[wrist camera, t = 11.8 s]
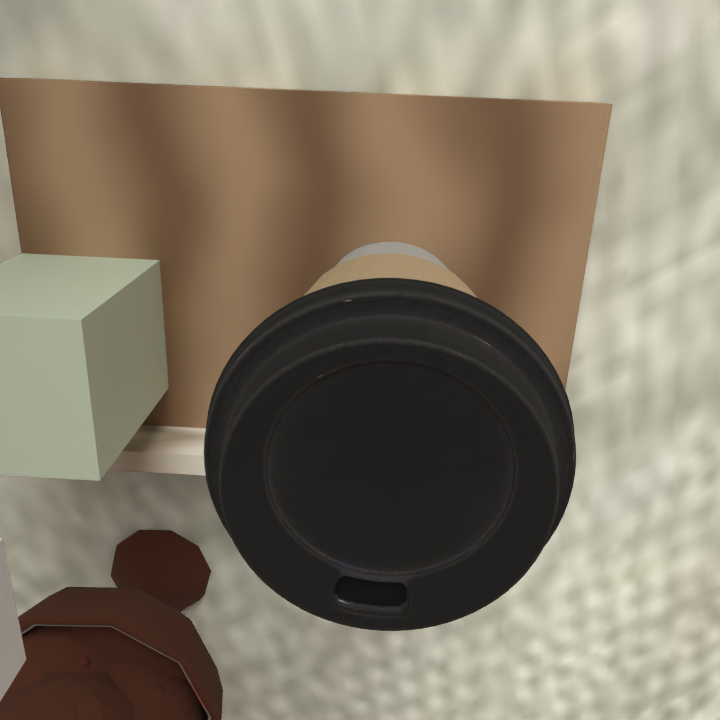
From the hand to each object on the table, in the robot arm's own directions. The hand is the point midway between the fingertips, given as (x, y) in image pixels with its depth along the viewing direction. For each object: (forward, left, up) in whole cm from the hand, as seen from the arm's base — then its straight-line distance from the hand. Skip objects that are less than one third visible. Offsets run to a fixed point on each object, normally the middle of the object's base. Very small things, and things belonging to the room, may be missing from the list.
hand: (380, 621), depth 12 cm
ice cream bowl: (-12, -17, -21) cm, 30 cm away
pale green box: (-13, -2, -19) cm, 23 cm away
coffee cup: (0, 0, -19) cm, 19 cm away
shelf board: (-4, 0, -21) cm, 21 cm away
